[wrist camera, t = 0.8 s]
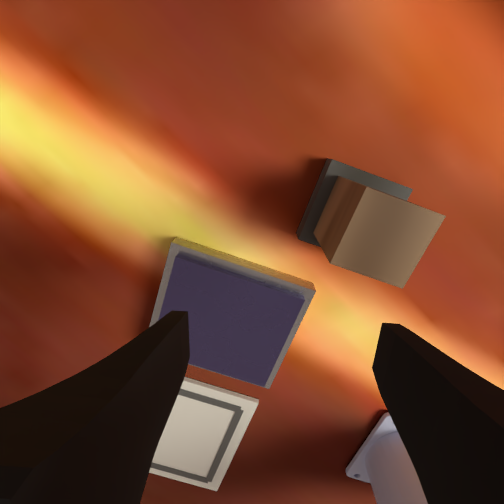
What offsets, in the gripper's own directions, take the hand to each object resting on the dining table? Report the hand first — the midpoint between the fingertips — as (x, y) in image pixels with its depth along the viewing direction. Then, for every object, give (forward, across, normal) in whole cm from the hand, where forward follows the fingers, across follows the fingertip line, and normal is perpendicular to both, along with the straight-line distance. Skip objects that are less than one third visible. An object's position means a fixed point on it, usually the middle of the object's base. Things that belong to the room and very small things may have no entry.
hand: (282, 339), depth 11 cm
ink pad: (+10, +3, +5) cm, 11 cm away
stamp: (+10, -4, -3) cm, 11 cm away
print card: (+10, +8, +17) cm, 21 cm away
